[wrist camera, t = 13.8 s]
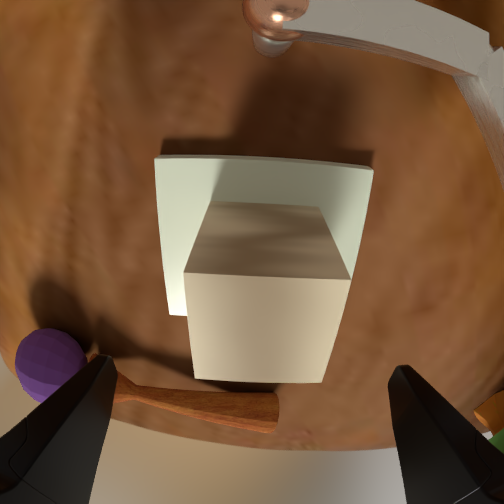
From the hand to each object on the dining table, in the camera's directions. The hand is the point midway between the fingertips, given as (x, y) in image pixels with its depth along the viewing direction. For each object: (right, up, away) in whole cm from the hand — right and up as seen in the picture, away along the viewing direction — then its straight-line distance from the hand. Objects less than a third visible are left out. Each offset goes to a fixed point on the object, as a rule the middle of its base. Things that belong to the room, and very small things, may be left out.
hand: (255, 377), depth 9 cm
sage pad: (0, +4, +7) cm, 9 cm away
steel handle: (+10, +10, +4) cm, 14 cm away
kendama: (-8, -5, +13) cm, 16 cm away
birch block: (0, +4, +7) cm, 8 cm away
